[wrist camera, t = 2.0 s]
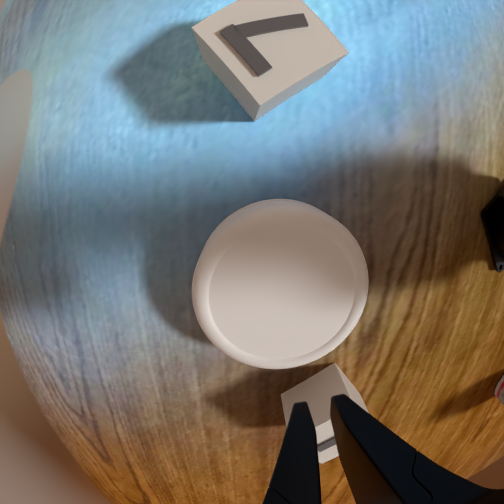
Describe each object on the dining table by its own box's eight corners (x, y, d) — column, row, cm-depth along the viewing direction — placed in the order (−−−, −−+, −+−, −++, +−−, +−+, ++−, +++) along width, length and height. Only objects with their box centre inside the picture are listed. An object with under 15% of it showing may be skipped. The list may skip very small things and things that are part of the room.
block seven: (320, 79, 15) (350, 51, 10) (254, 122, 16) (260, 104, 11) (270, 21, 14) (281, -22, 9) (203, 61, 15) (190, 25, 10)
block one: (359, 393, 22) (379, 435, 17) (310, 421, 23) (322, 465, 18) (334, 361, 21) (354, 408, 16) (280, 393, 22) (289, 442, 17)
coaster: (248, 166, 17) (250, 167, 14) (377, 247, 19) (402, 265, 15) (173, 303, 19) (161, 330, 16) (297, 360, 21) (306, 391, 18)
